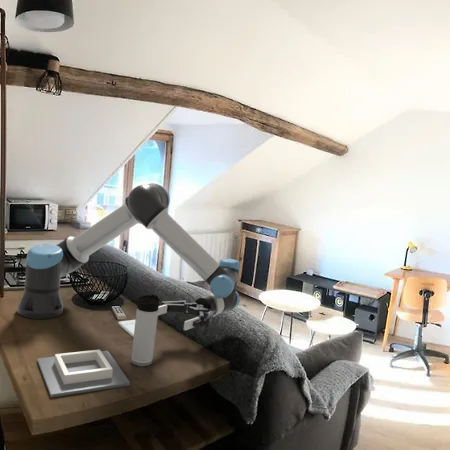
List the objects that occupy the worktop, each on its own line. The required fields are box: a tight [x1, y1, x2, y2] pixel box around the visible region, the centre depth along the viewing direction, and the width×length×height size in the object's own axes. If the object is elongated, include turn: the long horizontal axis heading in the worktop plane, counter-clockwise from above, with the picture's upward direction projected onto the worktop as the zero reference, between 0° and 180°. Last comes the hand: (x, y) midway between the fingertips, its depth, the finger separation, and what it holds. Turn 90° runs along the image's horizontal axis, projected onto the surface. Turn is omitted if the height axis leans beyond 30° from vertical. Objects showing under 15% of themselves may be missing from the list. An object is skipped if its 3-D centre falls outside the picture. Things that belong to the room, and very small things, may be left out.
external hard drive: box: [117, 318, 136, 339], centre depth 158 cm, size 2×8×12 cm
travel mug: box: [130, 294, 160, 367], centre depth 133 cm, size 6×7×20 cm
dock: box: [36, 349, 131, 398], centre depth 123 cm, size 20×20×3 cm
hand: (168, 319), depth 141 cm, fingers open, 13 cm apart
